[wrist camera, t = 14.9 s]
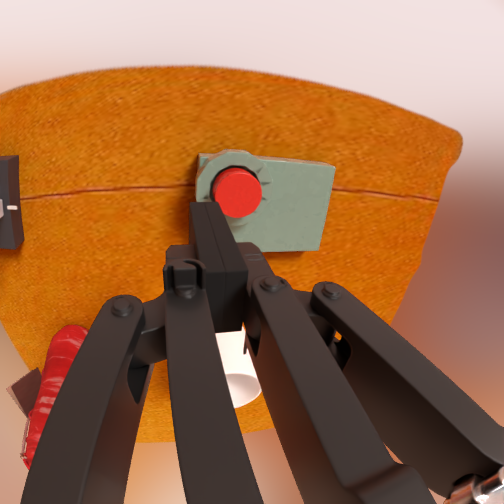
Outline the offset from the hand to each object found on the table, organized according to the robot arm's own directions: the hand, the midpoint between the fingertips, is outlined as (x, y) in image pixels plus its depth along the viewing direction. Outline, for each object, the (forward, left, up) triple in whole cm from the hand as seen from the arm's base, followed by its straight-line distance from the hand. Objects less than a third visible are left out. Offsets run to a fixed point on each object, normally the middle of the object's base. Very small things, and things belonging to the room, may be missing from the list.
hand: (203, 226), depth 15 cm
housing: (+7, +4, -14) cm, 16 cm away
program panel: (-15, -18, -14) cm, 27 cm away
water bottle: (+4, -28, -14) cm, 32 cm away
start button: (+3, +2, -10) cm, 11 cm away
